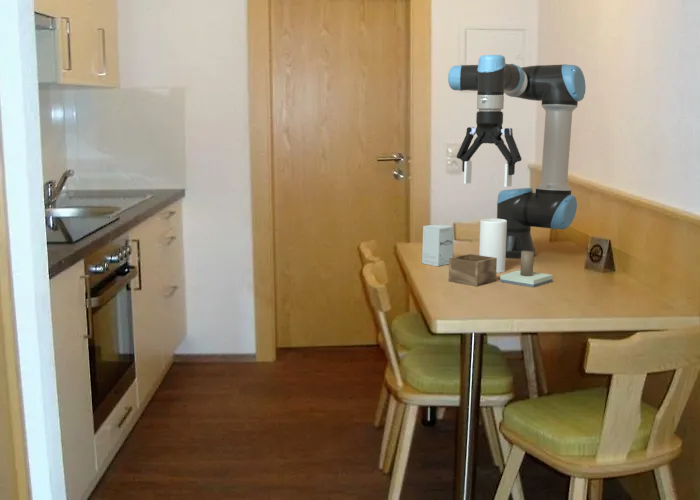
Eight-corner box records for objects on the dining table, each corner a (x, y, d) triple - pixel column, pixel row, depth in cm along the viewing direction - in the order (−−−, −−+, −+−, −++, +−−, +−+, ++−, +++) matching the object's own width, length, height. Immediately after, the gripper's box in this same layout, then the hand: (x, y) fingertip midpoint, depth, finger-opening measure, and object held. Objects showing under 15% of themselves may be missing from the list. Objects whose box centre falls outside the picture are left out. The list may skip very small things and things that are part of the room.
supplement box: (438, 266, 268) (439, 228, 265) (421, 263, 273) (422, 225, 271) (453, 264, 272) (454, 226, 270) (436, 260, 278) (437, 223, 276)
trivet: (519, 276, 253) (519, 273, 253) (552, 281, 246) (552, 278, 246) (500, 281, 245) (500, 279, 245) (533, 287, 238) (533, 284, 238)
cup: (504, 273, 258) (506, 222, 255) (478, 272, 259) (479, 221, 256) (505, 268, 266) (507, 218, 263) (479, 267, 267) (480, 217, 264)
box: (467, 276, 252) (468, 253, 251) (495, 281, 246) (496, 257, 245) (448, 281, 245) (449, 258, 244) (477, 286, 239) (477, 262, 237)
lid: (519, 273, 253) (520, 247, 251) (552, 278, 246) (553, 251, 244) (500, 279, 245) (501, 251, 243) (533, 284, 238) (534, 256, 236)
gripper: (446, 110, 242) (444, 182, 246) (522, 110, 226) (518, 188, 230) (460, 110, 248) (458, 181, 251) (535, 110, 231) (532, 186, 235)
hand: (487, 185), depth 240 cm, fingers open, 13 cm apart
